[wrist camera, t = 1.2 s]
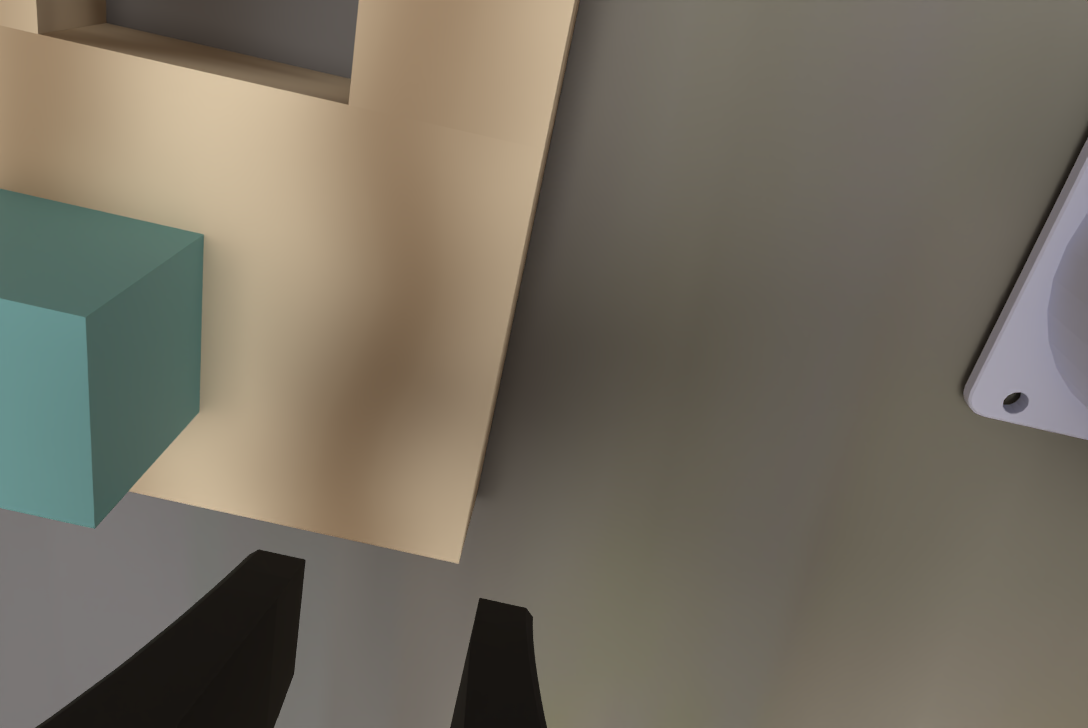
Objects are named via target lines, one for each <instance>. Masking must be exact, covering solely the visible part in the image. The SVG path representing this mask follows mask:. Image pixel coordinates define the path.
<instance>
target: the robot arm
mask: <svg viewBox="0 0 1088 728" xmlns="http://www.w3.org/2000/svg"><path fill="white" fill-rule="evenodd" d="M1015 392H1021V396H1020V398H1019V399H1018V400H1017V401H1016V402H1014V403H1012V404H1010V405H1003V402H1004V400H1005V398H1006V397H1007V396H1008V395H1010V394H1012V393H1015ZM963 395H964V399H965V401H966V403H967V404H968V406H969V407H970V408H971V409H972V410H973V412H974V413H976V414H978V415H980V416H983V417H987V418H992V419H996V420H1001V421H1005V422H1010V423H1014V424H1018V425H1023V426H1027V427H1032V428H1036V429H1041V430H1045V431H1050V432H1054V433H1059V434H1063V435H1067V436H1072V437H1076V438H1081V439H1085V440H1088V138H1087V140H1086V142H1085V144H1084V146H1083V148H1082V150H1081V152H1080V154H1079V156H1078V158H1077V160H1076V162H1075V164H1074V166H1073V168H1072V171H1071V173H1070V175H1069V177H1068V179H1067V181H1066V183H1065V185H1064V187H1063V189H1062V191H1061V193H1060V195H1059V197H1058V199H1057V201H1056V203H1055V205H1054V207H1053V209H1052V211H1051V213H1050V215H1049V217H1048V219H1047V221H1046V223H1045V225H1044V227H1043V229H1042V231H1041V233H1040V235H1039V237H1038V239H1037V241H1036V243H1035V245H1034V247H1033V249H1032V251H1031V253H1030V255H1029V257H1028V260H1027V262H1026V264H1025V266H1024V268H1023V270H1022V272H1021V274H1020V276H1019V278H1018V280H1017V282H1016V284H1015V286H1014V288H1013V290H1012V292H1011V294H1010V296H1009V298H1008V300H1007V302H1006V304H1005V306H1004V308H1003V310H1002V312H1001V314H1000V316H999V318H998V320H997V322H996V324H995V326H994V328H993V330H992V332H991V334H990V336H989V338H988V340H987V342H986V344H985V346H984V349H983V351H982V353H981V355H980V357H979V359H978V361H977V363H976V365H975V367H974V369H973V371H972V373H971V375H970V377H969V379H968V381H967V383H966V385H965V388H964V392H963ZM304 569H305V560H304V559H300V558H295V557H290V556H286V555H281V554H277V553H272V552H268V551H263V550H257V551H255V552H253V553H252V554H250V555H249V556H248V557H246V558H245V559H244V560H243V561H242V562H241V563H240V564H239V565H238V566H237V567H236V568H235V569H234V570H232V571H231V572H230V573H229V574H228V575H227V576H226V577H225V578H224V579H223V580H221V581H220V582H219V583H218V584H217V585H216V586H215V587H214V588H213V589H211V590H210V591H209V592H208V593H207V594H206V595H205V596H204V597H202V598H201V599H200V600H199V601H198V602H197V603H195V604H194V605H193V606H192V607H191V608H190V609H189V610H187V611H186V612H185V613H184V614H183V615H182V616H180V617H179V618H178V619H177V620H176V621H175V622H173V623H172V624H171V625H170V626H168V627H167V628H166V629H165V630H164V631H162V632H161V633H160V634H159V635H157V636H156V637H155V638H154V639H152V640H151V641H150V642H149V643H148V644H146V645H145V646H144V647H143V648H141V649H140V650H139V651H138V652H136V653H135V654H134V655H133V656H132V657H130V658H129V659H128V660H127V661H125V662H124V663H123V664H121V665H120V666H119V667H118V668H116V669H115V670H114V671H112V672H111V673H110V674H108V675H107V676H106V677H104V678H103V679H102V680H100V681H99V682H98V683H96V684H95V685H94V686H92V687H91V688H89V689H88V690H87V691H85V692H84V693H83V694H81V695H80V696H79V697H77V698H76V699H75V700H73V701H72V702H71V703H69V704H68V705H66V706H65V707H64V708H62V709H61V710H60V711H58V712H57V713H56V714H54V715H53V716H51V717H50V718H49V719H47V720H46V721H44V722H43V723H41V724H40V725H39V726H37V727H36V728H274V726H275V723H276V720H277V718H278V715H279V713H280V710H281V707H282V705H283V702H284V699H285V697H286V694H287V691H288V689H289V686H290V683H291V680H292V678H293V675H294V669H295V659H296V649H297V639H298V629H299V619H300V609H301V599H302V589H303V579H304ZM450 728H547V726H546V721H545V716H544V711H543V706H542V701H541V695H540V689H539V683H538V677H537V670H536V663H535V654H534V644H533V617H532V615H531V614H530V613H529V611H528V610H527V608H524V607H519V606H514V605H510V604H505V603H501V602H496V601H492V600H487V599H482V598H479V603H478V607H477V612H476V616H475V621H474V625H473V629H472V634H471V638H470V643H469V647H468V652H467V656H466V660H465V665H464V669H463V674H462V678H461V683H460V687H459V691H458V696H457V700H456V705H455V709H454V714H453V718H452V723H451V727H450Z"/></svg>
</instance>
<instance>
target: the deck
mask: <svg viewBox="0 0 1088 728" xmlns="http://www.w3.org/2000/svg"><path fill="white" fill-rule="evenodd" d="M579 2H580V0H0V189H5V190H9V191H13V192H18V193H22V194H27V195H31V196H36V197H40V198H45V199H49V200H53V201H58V202H62V203H67V204H71V205H76V206H80V207H85V208H89V209H93V210H98V211H102V212H107V213H111V214H116V215H120V216H125V217H129V218H133V219H138V220H142V221H147V222H151V223H156V224H160V225H165V226H169V227H173V228H178V229H182V230H187V231H191V232H196V233H200V234H204V249H203V289H202V329H201V369H200V408H199V413H198V414H197V415H196V416H195V418H194V419H193V420H192V421H191V422H190V423H189V424H188V425H187V426H186V428H185V429H184V430H183V431H182V432H181V433H180V434H179V435H178V436H177V438H176V439H175V440H174V441H173V442H172V443H171V444H170V445H169V446H168V448H167V449H166V450H165V451H164V452H163V453H162V454H161V455H160V457H159V458H158V459H157V460H156V461H155V462H154V463H153V464H152V465H151V467H150V468H149V469H148V470H147V471H146V472H145V473H144V474H143V475H142V477H141V478H140V479H139V480H138V481H137V482H136V483H135V484H134V485H133V487H132V488H131V489H130V490H129V491H130V492H134V493H139V494H143V495H148V496H153V497H157V498H162V499H166V500H171V501H175V502H180V503H185V504H189V505H194V506H198V507H203V508H207V509H212V510H216V511H221V512H226V513H230V514H235V515H239V516H244V517H248V518H253V519H257V520H262V521H267V522H271V523H276V524H280V525H285V526H289V527H294V528H298V529H303V530H308V531H312V532H317V533H321V534H326V535H330V536H335V537H339V538H344V539H349V540H353V541H358V542H362V543H367V544H371V545H376V546H380V547H385V548H390V549H394V550H399V551H403V552H408V553H412V554H417V555H421V556H426V557H431V558H435V559H440V560H444V561H449V562H453V563H458V564H459V560H460V557H461V553H462V549H463V545H464V542H465V538H466V534H467V530H468V526H469V523H470V519H471V515H472V511H473V508H474V504H475V500H476V496H477V491H478V486H479V481H480V476H481V472H482V467H483V462H484V457H485V452H486V448H487V443H488V438H489V433H490V428H491V424H492V419H493V414H494V409H495V405H496V400H497V395H498V390H499V385H500V381H501V376H502V371H503V366H504V361H505V357H506V352H507V347H508V342H509V337H510V333H511V328H512V323H513V318H514V313H515V309H516V304H517V299H518V294H519V290H520V285H521V280H522V275H523V270H524V266H525V261H526V256H527V251H528V246H529V242H530V237H531V232H532V227H533V222H534V218H535V213H536V208H537V203H538V198H539V194H540V189H541V184H542V179H543V174H544V170H545V165H546V160H547V155H548V151H549V146H550V141H551V136H552V131H553V127H554V122H555V117H556V112H557V107H558V103H559V98H560V93H561V88H562V83H563V79H564V74H565V69H566V64H567V59H568V55H569V50H570V45H571V40H572V36H573V31H574V26H575V21H576V16H577V12H578V7H579Z"/></svg>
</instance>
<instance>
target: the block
mask: <svg viewBox="0 0 1088 728" xmlns="http://www.w3.org/2000/svg"><path fill="white" fill-rule="evenodd" d="M203 249H204V234H200V233H196V232H191V231H187V230H182V229H178V228H173V227H169V226H165V225H160V224H156V223H151V222H147V221H142V220H138V219H133V218H129V217H125V216H120V215H116V214H111V213H107V212H102V211H98V210H93V209H89V208H85V207H80V206H76V205H71V204H67V203H62V202H58V201H53V200H49V199H45V198H40V197H36V196H31V195H27V194H22V193H18V192H13V191H9V190H5V189H0V508H3V509H7V510H12V511H16V512H21V513H26V514H30V515H35V516H39V517H44V518H48V519H53V520H58V521H62V522H67V523H71V524H76V525H81V526H85V527H90V528H94V529H95V528H96V527H97V526H98V524H99V523H100V522H101V521H102V520H103V519H104V518H105V517H106V515H107V514H108V513H109V512H110V511H111V510H112V509H113V508H114V507H115V505H116V504H117V503H118V502H119V501H120V500H121V499H122V498H123V497H124V495H125V494H126V493H127V492H128V491H129V490H130V489H131V488H132V487H133V485H134V484H135V483H136V482H137V481H138V480H139V479H140V478H141V477H142V475H143V474H144V473H145V472H146V471H147V470H148V469H149V468H150V467H151V465H152V464H153V463H154V462H155V461H156V460H157V459H158V458H159V457H160V455H161V454H162V453H163V452H164V451H165V450H166V449H167V448H168V446H169V445H170V444H171V443H172V442H173V441H174V440H175V439H176V438H177V436H178V435H179V434H180V433H181V432H182V431H183V430H184V429H185V428H186V426H187V425H188V424H189V423H190V422H191V421H192V420H193V419H194V418H195V416H196V415H197V414H198V413H199V408H200V369H201V329H202V289H203Z"/></svg>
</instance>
